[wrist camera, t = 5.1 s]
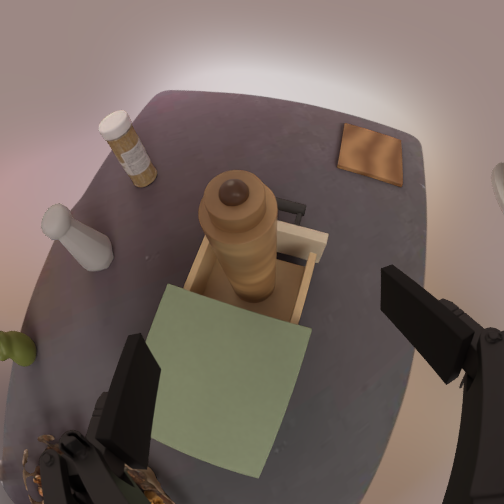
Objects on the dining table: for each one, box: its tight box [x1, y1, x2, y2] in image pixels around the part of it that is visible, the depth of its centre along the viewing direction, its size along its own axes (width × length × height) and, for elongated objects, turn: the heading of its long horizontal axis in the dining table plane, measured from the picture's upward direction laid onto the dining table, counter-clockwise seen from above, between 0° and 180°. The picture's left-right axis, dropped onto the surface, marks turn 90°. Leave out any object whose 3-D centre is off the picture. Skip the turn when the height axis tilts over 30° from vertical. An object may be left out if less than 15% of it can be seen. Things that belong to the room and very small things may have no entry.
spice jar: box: [99, 110, 157, 187], centre depth 36 cm, size 5×5×14 cm
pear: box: [0, 331, 36, 366], centre depth 27 cm, size 6×5×10 cm
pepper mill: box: [198, 170, 278, 303], centre depth 23 cm, size 5×5×18 cm
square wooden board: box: [337, 123, 403, 187], centre depth 40 cm, size 11×11×1 cm
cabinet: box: [146, 284, 312, 478], centre depth 26 cm, size 16×15×8 cm
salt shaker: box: [41, 203, 114, 271], centre depth 31 cm, size 6×6×13 cm
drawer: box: [183, 197, 329, 325], centre depth 30 cm, size 19×13×6 cm
